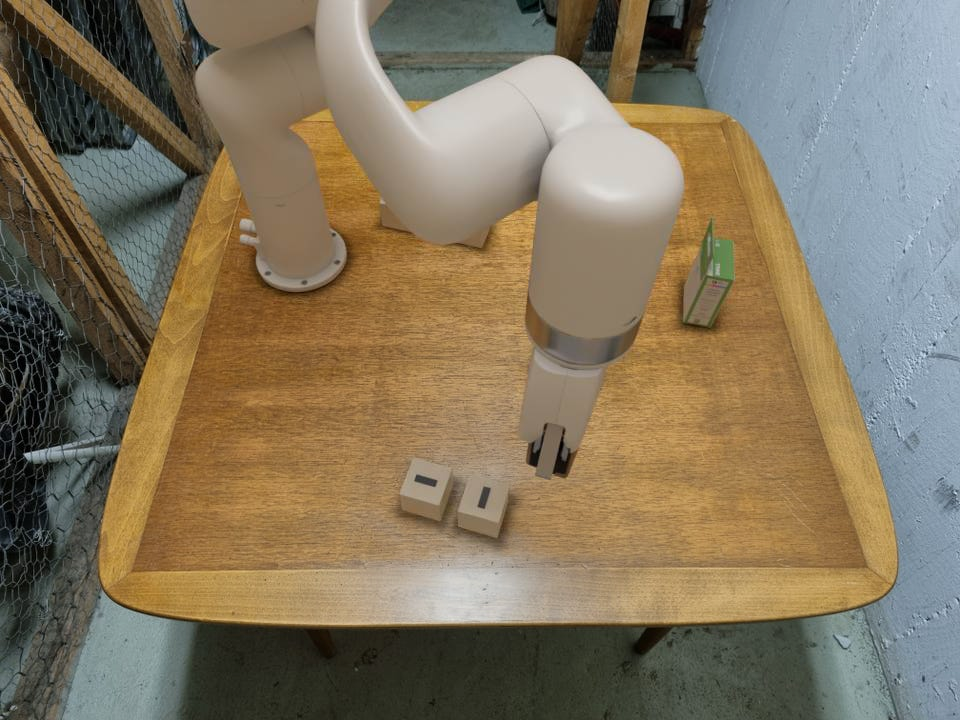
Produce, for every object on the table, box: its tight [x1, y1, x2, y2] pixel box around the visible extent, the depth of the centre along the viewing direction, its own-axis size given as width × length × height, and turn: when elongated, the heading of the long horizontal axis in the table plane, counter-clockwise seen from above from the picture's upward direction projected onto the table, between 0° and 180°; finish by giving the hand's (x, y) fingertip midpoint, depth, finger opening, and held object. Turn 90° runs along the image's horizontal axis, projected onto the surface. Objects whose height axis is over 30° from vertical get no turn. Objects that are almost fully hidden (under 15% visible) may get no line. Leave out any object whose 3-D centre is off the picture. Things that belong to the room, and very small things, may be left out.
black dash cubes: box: [398, 457, 511, 539], centre depth 73 cm, size 11×4×5 cm, turn 73°
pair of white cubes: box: [378, 197, 491, 249], centre depth 98 cm, size 16×4×5 cm, turn 73°
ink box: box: [682, 215, 736, 329], centre depth 86 cm, size 7×4×13 cm, turn 168°
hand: (554, 440), depth 59 cm, fingers closed on wooden block, 4 cm apart
